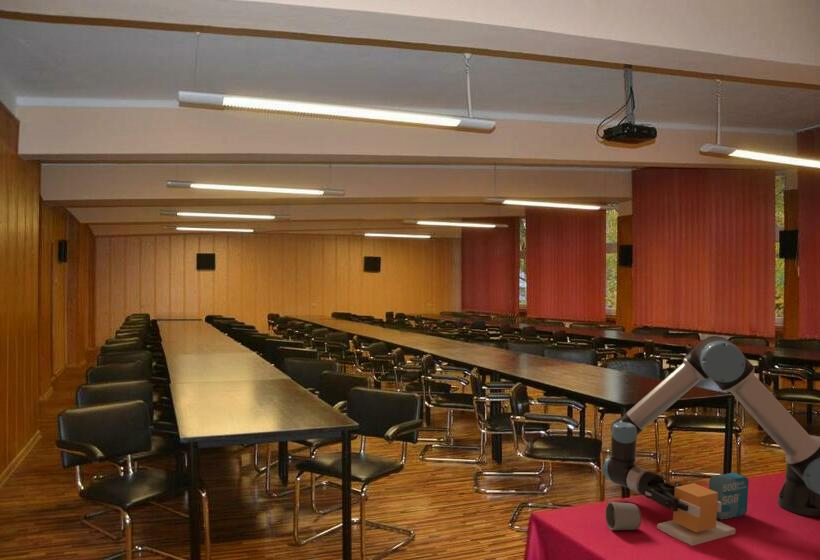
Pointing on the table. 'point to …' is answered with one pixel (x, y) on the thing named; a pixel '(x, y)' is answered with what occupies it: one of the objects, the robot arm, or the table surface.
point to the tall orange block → (701, 499)
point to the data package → (730, 494)
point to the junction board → (695, 537)
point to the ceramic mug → (623, 516)
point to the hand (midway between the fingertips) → (709, 509)
